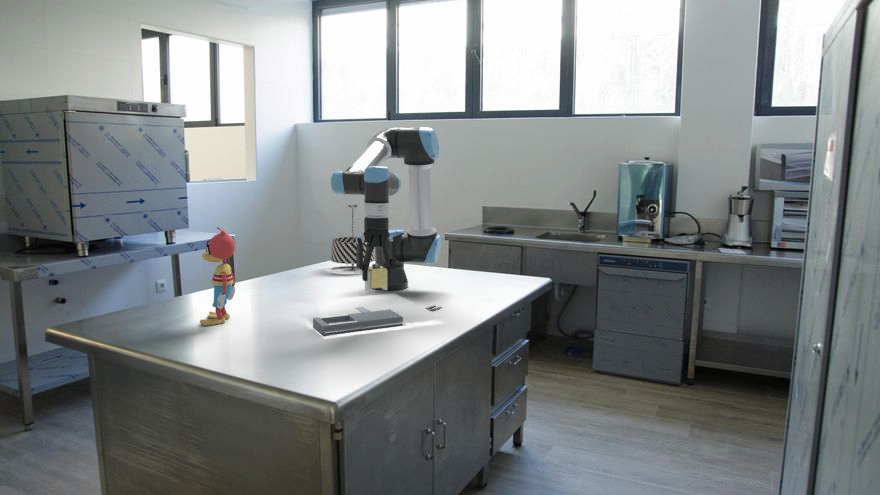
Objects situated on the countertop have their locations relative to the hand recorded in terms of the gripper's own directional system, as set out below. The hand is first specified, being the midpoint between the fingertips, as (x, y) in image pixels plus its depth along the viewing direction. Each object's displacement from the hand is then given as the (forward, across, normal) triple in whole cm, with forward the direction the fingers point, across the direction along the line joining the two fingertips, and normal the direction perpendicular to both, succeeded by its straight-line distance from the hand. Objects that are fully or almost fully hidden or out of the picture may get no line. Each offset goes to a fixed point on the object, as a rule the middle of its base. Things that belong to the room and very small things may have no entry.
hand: (376, 290), depth 192 cm
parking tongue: (+11, +1, +13) cm, 17 cm away
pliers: (+12, +19, +8) cm, 24 cm away
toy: (+11, -43, +25) cm, 51 cm away
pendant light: (+11, +27, +92) cm, 97 cm away
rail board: (+11, -6, 0) cm, 13 cm away
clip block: (-1, 0, 0) cm, 1 cm away
